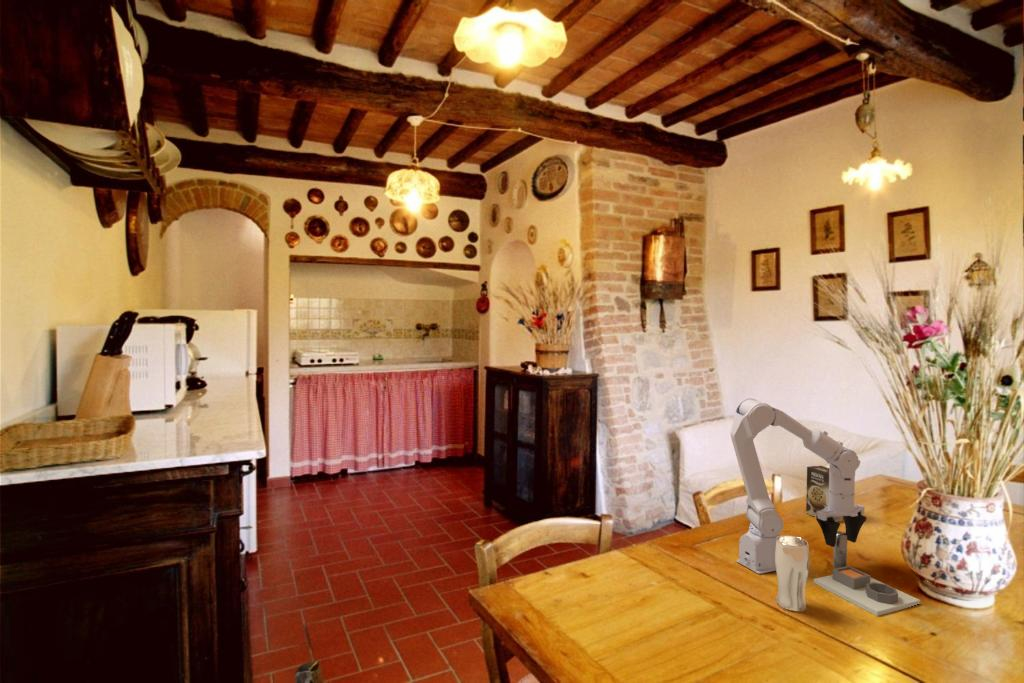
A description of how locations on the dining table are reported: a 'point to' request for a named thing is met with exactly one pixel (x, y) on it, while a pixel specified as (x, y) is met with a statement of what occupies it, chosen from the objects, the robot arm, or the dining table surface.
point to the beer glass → (791, 571)
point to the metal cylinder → (840, 550)
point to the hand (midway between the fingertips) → (840, 543)
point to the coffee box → (818, 490)
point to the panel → (864, 599)
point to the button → (851, 573)
